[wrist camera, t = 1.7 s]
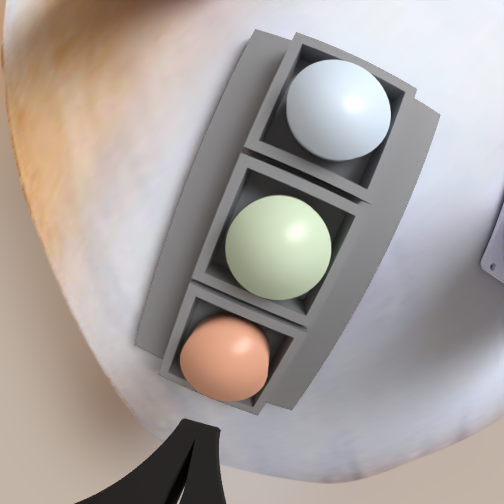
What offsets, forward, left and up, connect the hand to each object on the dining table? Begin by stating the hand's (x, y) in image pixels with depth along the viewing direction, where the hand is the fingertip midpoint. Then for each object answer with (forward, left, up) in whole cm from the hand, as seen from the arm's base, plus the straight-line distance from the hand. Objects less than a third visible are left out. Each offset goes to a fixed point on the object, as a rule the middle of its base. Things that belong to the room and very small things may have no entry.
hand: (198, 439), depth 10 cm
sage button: (0, -7, -7) cm, 9 cm away
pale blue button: (0, -13, -7) cm, 15 cm away
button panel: (0, -7, -9) cm, 11 cm away
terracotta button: (0, 0, -7) cm, 7 cm away
